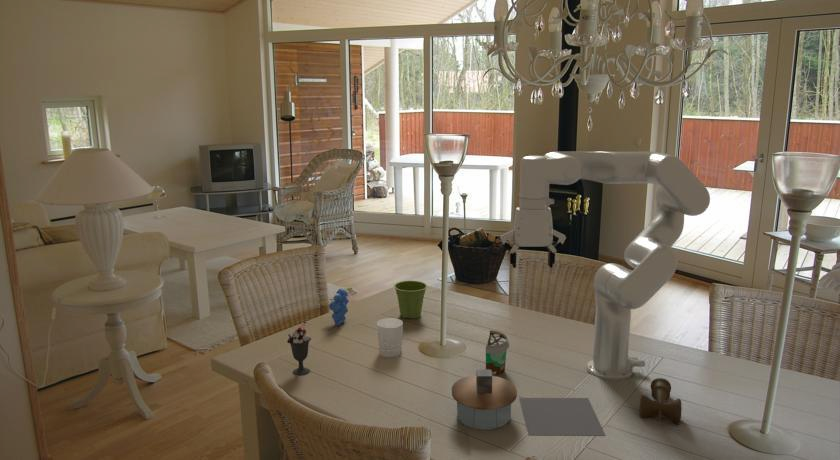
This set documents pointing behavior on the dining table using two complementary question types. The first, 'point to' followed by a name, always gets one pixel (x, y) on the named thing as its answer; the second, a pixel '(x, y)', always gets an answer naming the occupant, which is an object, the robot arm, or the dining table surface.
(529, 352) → the dining table surface
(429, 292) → the dining table surface
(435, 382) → the dining table surface
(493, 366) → the food container
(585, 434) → the mat
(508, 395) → the lid
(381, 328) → the white cup
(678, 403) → the kendama
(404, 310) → the plant pot
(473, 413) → the bowl
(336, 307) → the grapes
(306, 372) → the sundae
